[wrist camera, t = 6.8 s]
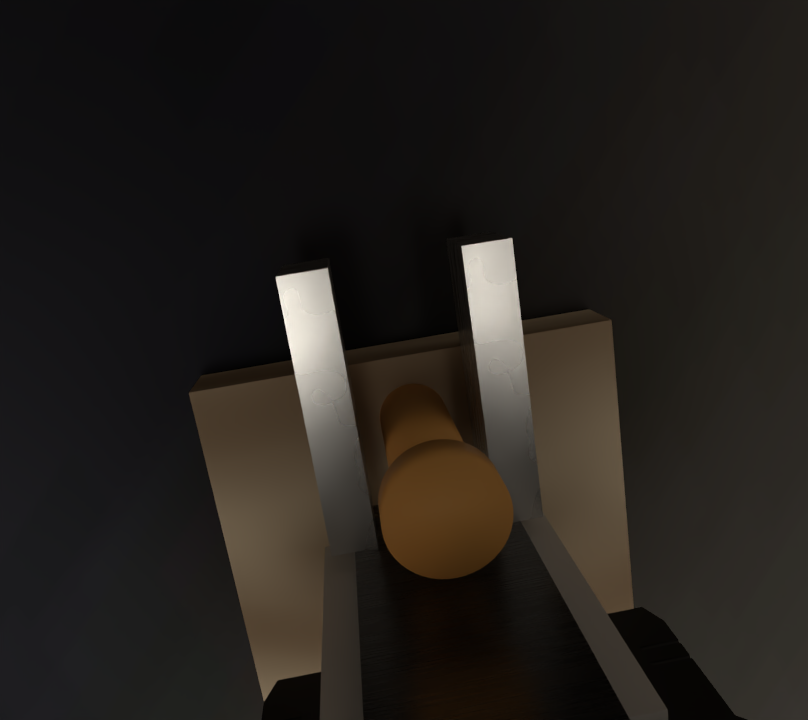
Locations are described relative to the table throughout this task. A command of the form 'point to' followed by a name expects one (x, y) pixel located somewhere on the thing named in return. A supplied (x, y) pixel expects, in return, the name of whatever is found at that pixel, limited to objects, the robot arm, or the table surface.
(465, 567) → the keeper post
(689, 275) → the table surface
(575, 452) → the rail board
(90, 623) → the table surface
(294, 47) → the table surface
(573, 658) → the two-pronged fork block
